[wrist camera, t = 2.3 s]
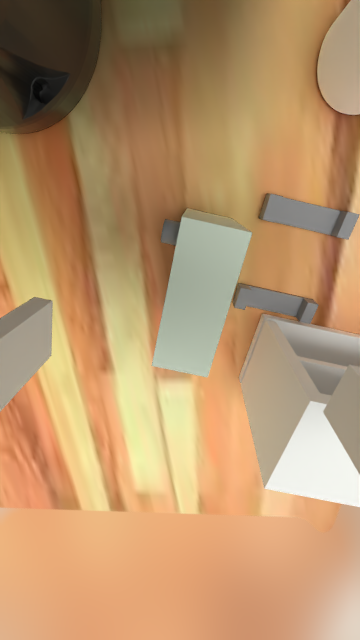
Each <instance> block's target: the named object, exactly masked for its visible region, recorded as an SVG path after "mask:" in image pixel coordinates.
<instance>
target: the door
mask: <svg viewBox="0 0 360 640" xmlns="http://www.w3.org/2000/svg"><path fill="white" fill-rule="evenodd" d="M251 236H252V232H251V231H249V230H248V229H246V228H245V227H243V226H242V225H241V224H239V223H238V222H236V221H235V220H233V219H232V218H228V217H224V216H220V215H215V214H211V213H207V212H202V211H198V210H194V209H189V208H187V209H186V211H185V212H184V214H183V215H182V218H181V222H177V221H173V220H168V219H165V221H164V225H163V230H162V235H161V242H162V243H166V244H171V245H175V246H176V248H175V253H174V258H173V263H172V268H171V273H170V278H169V283H168V288H167V293H166V298H165V303H164V308H163V312H162V317H161V322H160V327H159V332H158V337H157V342H156V347H155V352H154V357H153V362H152V366H155V367H160V368H165V369H170V370H174V371H179V372H184V373H189V374H194V375H198V376H203V377H208V375H209V371H210V368H211V365H212V362H213V358H214V355H215V352H216V349H217V345H218V342H219V339H220V336H221V333H222V329H223V326H224V323H225V320H226V316H227V313H228V310H229V307H230V303H231V300H232V297H233V294H234V290H235V287H236V284H237V281H238V278H239V274H240V271H241V268H242V265H243V261H244V258H245V255H246V252H247V248H248V245H249V242H250V239H251Z"/></svg>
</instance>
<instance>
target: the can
mask: <svg viewBox="0 0 360 640" xmlns="http://www.w3.org/2000/svg"><path fill="white" fill-rule="evenodd" d="M317 77H318V84H319V88H320V91H321V93H322V96H323V97H324V99H325V101H326V102H327V103H328V104H329V105H330V106H331V107H332V108H333V109H335V110H336V111H338V112H340V113H343V114H348V115H357V114H360V0H351V1H350V2H349V3H348V5H347V6H346V7H345V8H344V10H343V11H342V12H341V13H340V15H339V16H338V17H337V19H336V20H335V21H334V23H333V24H332V26H331V27H330V29H329V30H328V32H327V34H326V36H325V38H324V40H323V43H322V46H321V50H320V54H319V59H318V68H317Z"/></svg>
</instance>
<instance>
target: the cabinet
mask: <svg viewBox="0 0 360 640" xmlns="http://www.w3.org/2000/svg"><path fill="white" fill-rule="evenodd" d="M358 217H359V214H355V213H351V212H345V211H339V210H334V209H330V208H326V207H322V206H317V205H313V204H309V203H305V202H300V201H296V200H292V199H288V198H283V196H278V195H274V194H266V197H265V200H264V204H263V207H262V210H261V213H260V216H259V219H262V220H266V221H270V222H276V223H281V224H285V225H289V226H294V227H298V228H302V229H307V230H311V231H315V232H320V233H324V234H328V235H332V236H335V237H339V238H343V239H349V237H350V235H351V232H352V230H353V228H354V226H355V224H356V221H357V219H358ZM233 304H234V307H235V308H239V309H243V310H245V308H246V306H249V307H253V308H258V309H263V310H267V311H272V312H276V313H281V314H285V315H290V316H294V317H296V318H297V319H298V320H299V321H295V320H291V319H286V318H281V317H277V316H272V315H268V314H263V313H262V315H261V318H260V321H259V323H258V326H257V329H256V332H255V334H254V337H253V340H252V343H251V345H250V348H249V351H248V353H247V356H246V359H245V362H244V364H243V367H242V370H241V373H240V375H239V380H240V383H241V389H242V393H243V398H244V402H245V406H246V411H247V415H248V419H249V424H250V428H251V432H252V437H253V441H254V445H255V450H256V454H257V458H258V463H259V467H260V471H261V476H262V480H263V484H264V489H269V490H274V491H279V492H284V493H290V494H295V495H300V496H305V497H310V498H315V499H321V500H326V501H331V502H336V503H341V504H346V505H351V506H357V507H360V474H359V473H358V471H357V469H356V468H355V466H354V464H353V462H352V461H351V459H350V457H349V456H348V454H347V452H346V451H345V449H344V447H343V445H342V444H341V442H340V440H339V439H338V437H337V435H336V433H335V432H334V430H333V428H332V427H331V425H330V423H329V421H328V420H327V418H326V416H325V415H324V413H323V411H324V409H325V407H326V405H327V404H328V402H329V400H330V398H331V396H332V395H333V393H334V391H335V389H336V387H337V385H338V384H339V382H340V380H341V378H342V376H343V375H344V373H345V371H346V369H347V367H348V366H349V365H353V366H358V367H360V335H359V334H355V333H350V332H345V331H341V330H336V329H332V328H327V327H323V326H318V325H313V324H310V323H311V321H312V318H313V316H314V314H315V312H316V310H317V307H318V304H317V303H316V302H315V301H314V300H313V299H308V298H304V297H299V296H295V295H290V294H286V293H281V292H277V291H272V290H268V289H263V288H259V287H254V286H250V285H245V284H241V283H239V284H238V287H237V290H236V293H235V296H234V300H233Z"/></svg>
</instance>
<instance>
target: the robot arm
mask: <svg viewBox="0 0 360 640" xmlns="http://www.w3.org/2000/svg"><path fill="white" fill-rule="evenodd" d="M100 38H101V0H0V132H5V133H13V134H24V133H32V132H36V131H40V130H43V129H45V128H48V127H50V126H52V125H54V124H55V123H57V122H58V121H60V120H61V119H62V118H64V117H65V116H66V115H67V114H68V113H69V112H70V111H71V110H72V109H73V108H74V107H75V105H76V104H77V103H78V102H79V100H80V99H81V97H82V95H83V94H84V92H85V90H86V88H87V86H88V84H89V82H90V80H91V77H92V74H93V71H94V68H95V65H96V61H97V57H98V52H99V46H100ZM51 345H52V301H51V300H46V299H42V298H37V297H34V298H32V299H30V300H29V301H27V302H26V303H24V304H22V305H21V306H19V307H17V308H16V309H14V310H13V311H11V312H9V313H8V314H6V315H5V316H3V317H1V318H0V411H1V410H2V409H3V408H4V407H5V406H6V405H7V403H8V402H9V401H10V400H11V399H12V398H13V397H14V396H15V395H16V394H17V393H18V391H19V390H20V389H21V388H22V387H23V386H24V385H25V384H26V383H27V382H28V380H29V379H30V378H31V377H32V376H33V375H34V374H35V373H36V372H37V371H38V369H39V368H40V367H41V366H42V365H43V364H44V363H45V362H46V361H47V360H48V358H49V357H50V356H51ZM323 413H324V415H325V416H326V418H327V420H328V421H329V423H330V425H331V427H332V428H333V430H334V432H335V433H336V435H337V437H338V439H339V440H340V442H341V444H342V445H343V447H344V449H345V451H346V452H347V454H348V456H349V457H350V459H351V461H352V462H353V464H354V466H355V468H356V469H357V471H358V473H359V474H360V367H358V366H353V365H349V366H348V367H347V369H346V371H345V373H344V375H343V376H342V378H341V380H340V382H339V384H338V385H337V387H336V389H335V391H334V393H333V395H332V396H331V398H330V400H329V402H328V404H327V405H326V407H325V409H324V411H323Z"/></svg>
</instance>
